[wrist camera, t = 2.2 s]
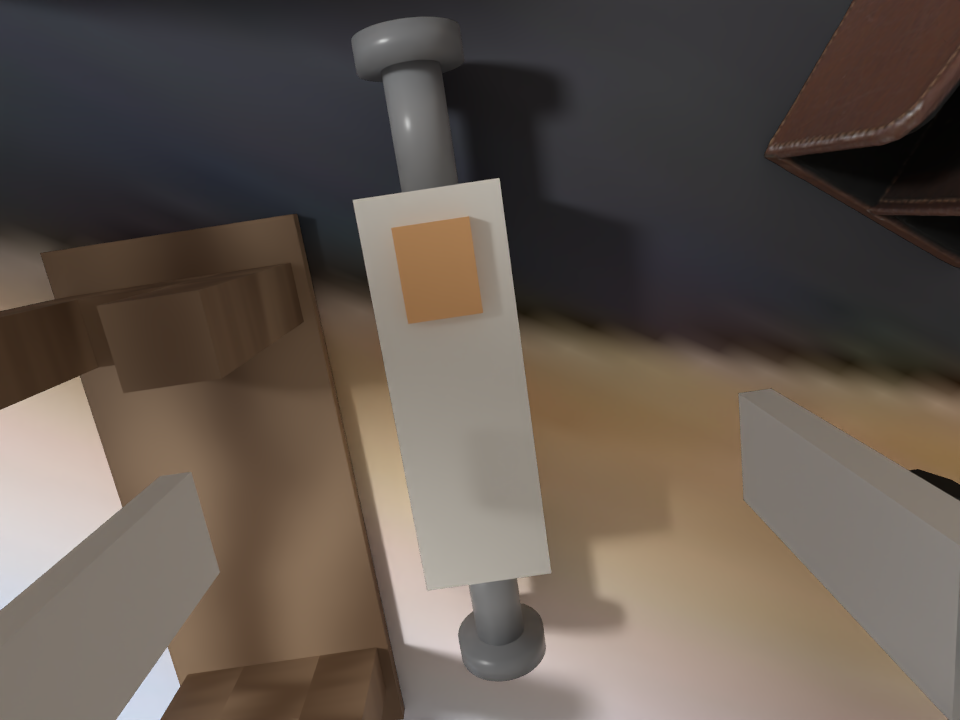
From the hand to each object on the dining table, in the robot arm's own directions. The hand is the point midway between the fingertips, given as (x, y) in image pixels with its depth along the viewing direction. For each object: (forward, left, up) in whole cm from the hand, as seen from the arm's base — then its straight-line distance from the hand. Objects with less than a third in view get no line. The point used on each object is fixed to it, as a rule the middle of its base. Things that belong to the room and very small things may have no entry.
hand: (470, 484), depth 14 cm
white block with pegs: (0, 0, -12) cm, 12 cm away
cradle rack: (-11, -5, -12) cm, 16 cm away
